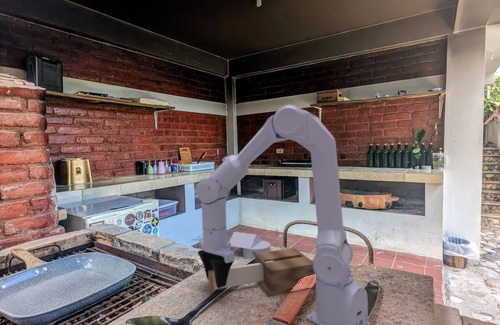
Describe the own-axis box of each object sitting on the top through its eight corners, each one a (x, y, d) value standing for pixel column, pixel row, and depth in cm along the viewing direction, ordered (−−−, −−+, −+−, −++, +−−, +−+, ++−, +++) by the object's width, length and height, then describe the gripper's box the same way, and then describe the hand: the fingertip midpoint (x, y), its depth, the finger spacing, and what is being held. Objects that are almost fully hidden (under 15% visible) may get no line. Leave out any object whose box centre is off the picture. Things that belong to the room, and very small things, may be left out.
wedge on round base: (227, 255, 94) (263, 261, 88) (227, 235, 93) (263, 240, 88) (240, 246, 102) (274, 251, 96) (240, 228, 102) (274, 232, 96)
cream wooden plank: (273, 277, 74) (273, 260, 74) (275, 278, 73) (274, 262, 73) (208, 288, 69) (208, 270, 69) (209, 290, 68) (208, 272, 68)
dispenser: (294, 268, 82) (294, 245, 82) (316, 287, 71) (315, 260, 71) (251, 275, 78) (251, 251, 78) (267, 296, 67) (267, 268, 67)
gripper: (244, 230, 65) (246, 288, 65) (215, 218, 77) (217, 267, 77) (217, 236, 61) (219, 298, 61) (190, 223, 73) (192, 274, 73)
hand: (216, 282), depth 69 cm, fingers open, 5 cm apart
